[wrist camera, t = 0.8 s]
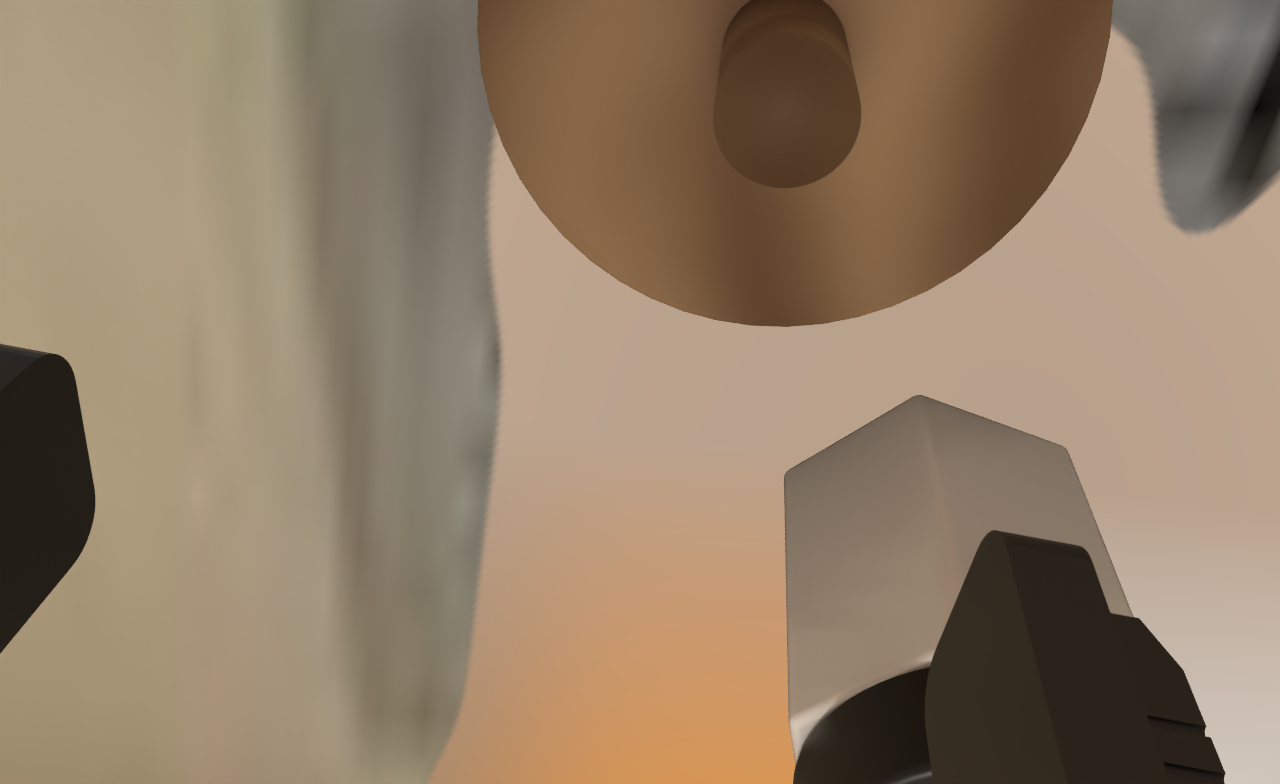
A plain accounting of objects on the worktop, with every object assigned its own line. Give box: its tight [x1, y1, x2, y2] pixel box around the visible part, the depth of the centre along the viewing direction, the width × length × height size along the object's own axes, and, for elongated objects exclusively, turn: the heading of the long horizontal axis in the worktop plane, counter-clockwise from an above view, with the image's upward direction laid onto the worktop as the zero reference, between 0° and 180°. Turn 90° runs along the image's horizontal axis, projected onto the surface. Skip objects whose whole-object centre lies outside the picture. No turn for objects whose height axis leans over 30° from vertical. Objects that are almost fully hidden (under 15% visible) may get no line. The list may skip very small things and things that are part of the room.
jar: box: [784, 395, 1133, 784], centre depth 27 cm, size 9×8×12 cm
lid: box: [478, 0, 1113, 327], centre depth 23 cm, size 14×14×6 cm
